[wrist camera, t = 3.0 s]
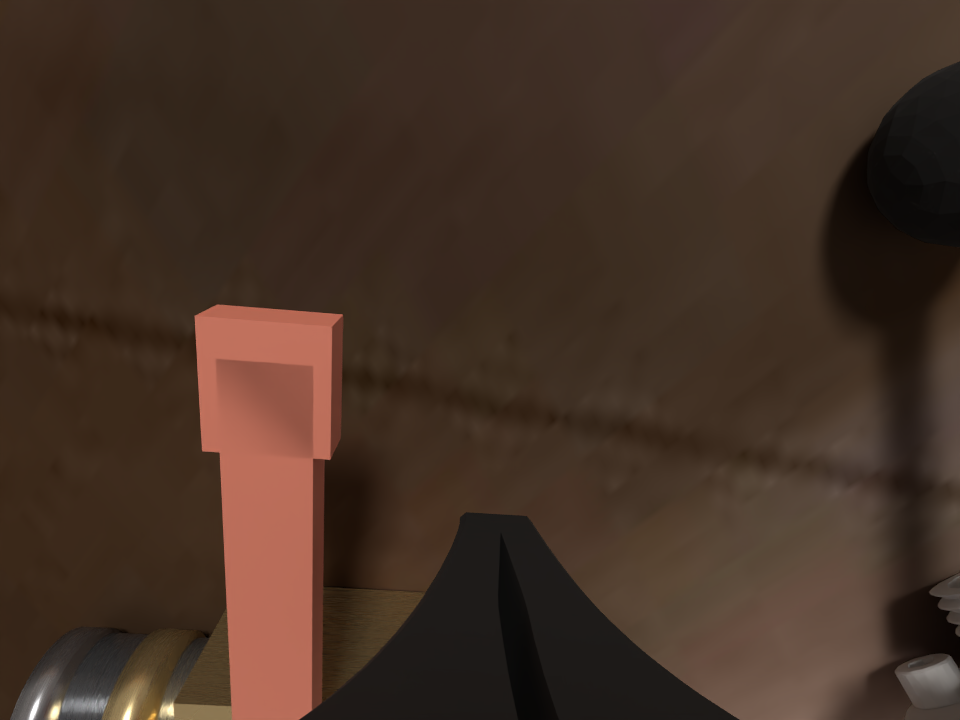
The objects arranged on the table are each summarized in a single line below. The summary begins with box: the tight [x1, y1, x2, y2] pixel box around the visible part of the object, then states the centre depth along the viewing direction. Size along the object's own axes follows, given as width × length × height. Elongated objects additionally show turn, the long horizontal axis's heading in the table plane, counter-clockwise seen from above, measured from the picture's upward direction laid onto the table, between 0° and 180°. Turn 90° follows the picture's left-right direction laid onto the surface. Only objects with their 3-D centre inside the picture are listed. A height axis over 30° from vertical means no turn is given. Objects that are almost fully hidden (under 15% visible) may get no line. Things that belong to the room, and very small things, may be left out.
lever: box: [195, 305, 343, 720], centre depth 12 cm, size 15×3×2 cm, turn 175°
